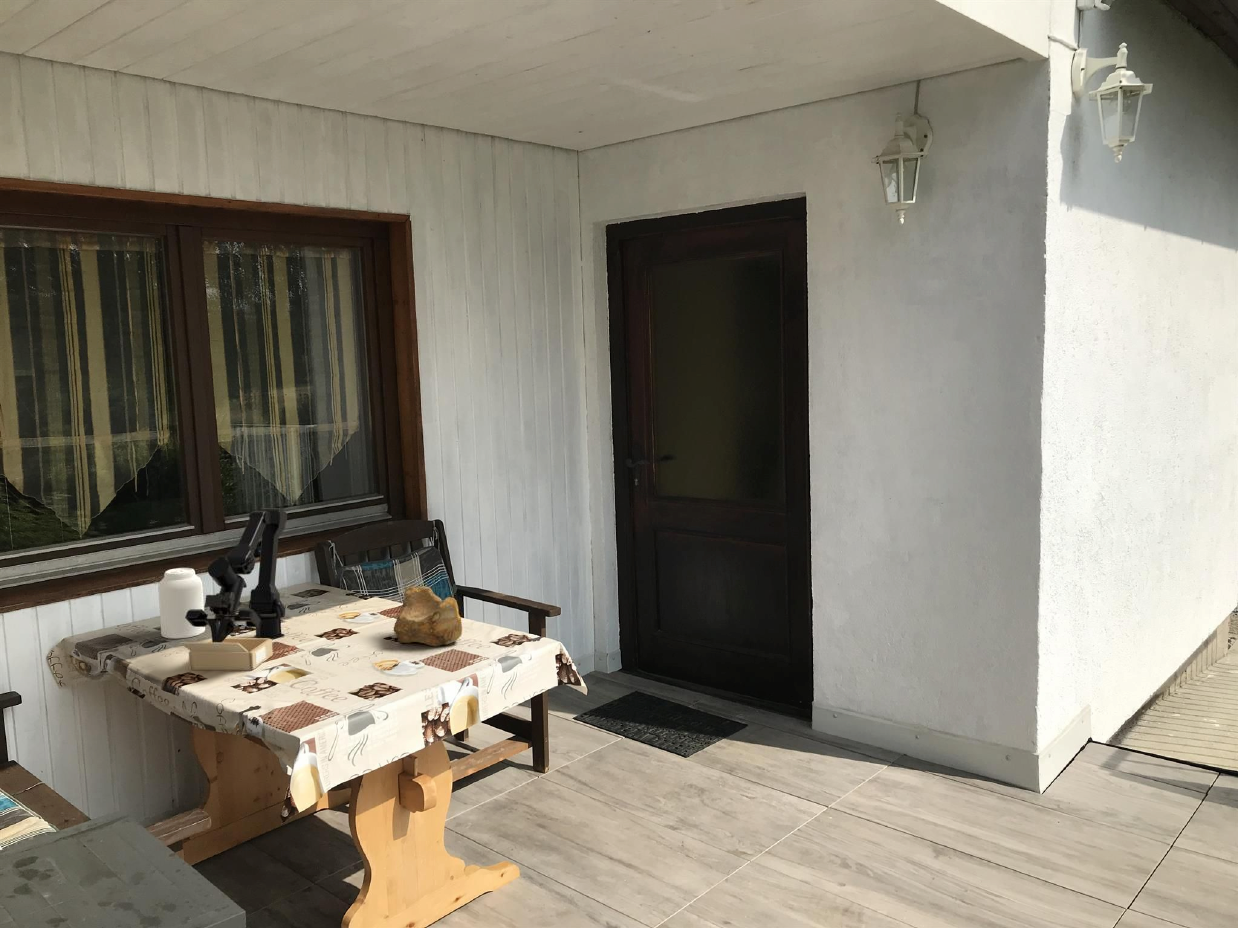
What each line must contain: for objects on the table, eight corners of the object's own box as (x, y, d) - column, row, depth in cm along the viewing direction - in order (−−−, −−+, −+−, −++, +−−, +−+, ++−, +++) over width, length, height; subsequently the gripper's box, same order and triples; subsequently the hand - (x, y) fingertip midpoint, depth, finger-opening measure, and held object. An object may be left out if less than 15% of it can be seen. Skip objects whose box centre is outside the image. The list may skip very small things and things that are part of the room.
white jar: (174, 641, 295) (170, 576, 293) (153, 634, 303) (148, 571, 301) (213, 632, 305) (209, 568, 303) (191, 625, 313) (187, 563, 310)
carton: (212, 654, 282) (211, 637, 282) (274, 655, 281) (273, 638, 280) (189, 669, 269) (188, 651, 268) (253, 670, 268) (252, 652, 267)
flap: (191, 650, 268) (180, 641, 262) (248, 651, 267) (237, 642, 261) (191, 651, 268) (179, 643, 262) (247, 652, 267) (237, 643, 261)
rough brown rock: (377, 641, 296) (372, 594, 293) (423, 625, 307) (419, 580, 304) (421, 660, 280) (417, 610, 277) (468, 642, 291) (464, 595, 288)
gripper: (185, 580, 268) (168, 633, 259) (252, 581, 266) (237, 634, 257) (201, 599, 277) (185, 651, 268) (266, 600, 275) (252, 652, 266)
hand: (214, 646), depth 265 cm, fingers closed, pressing on flap
